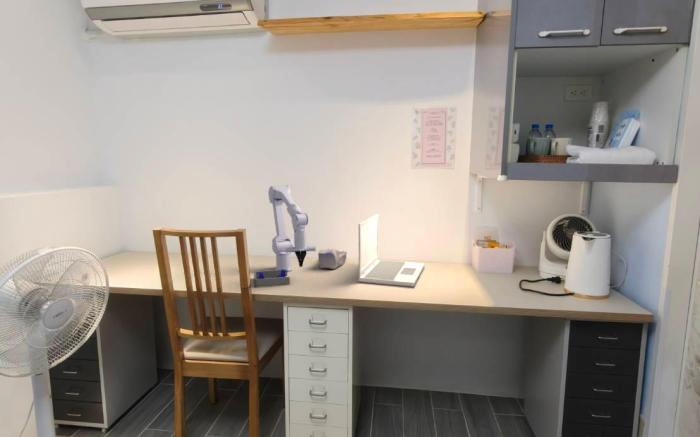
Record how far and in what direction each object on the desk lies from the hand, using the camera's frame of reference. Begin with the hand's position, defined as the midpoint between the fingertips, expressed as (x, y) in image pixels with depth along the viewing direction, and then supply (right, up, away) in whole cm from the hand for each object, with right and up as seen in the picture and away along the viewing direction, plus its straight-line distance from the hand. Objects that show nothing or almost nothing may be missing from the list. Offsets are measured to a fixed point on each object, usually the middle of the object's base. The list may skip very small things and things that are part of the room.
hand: (300, 266), depth 192 cm
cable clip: (-13, -8, -4) cm, 16 cm away
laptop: (+45, -6, +8) cm, 46 cm away
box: (-14, -7, -2) cm, 15 cm away
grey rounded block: (+14, -3, +25) cm, 29 cm away
